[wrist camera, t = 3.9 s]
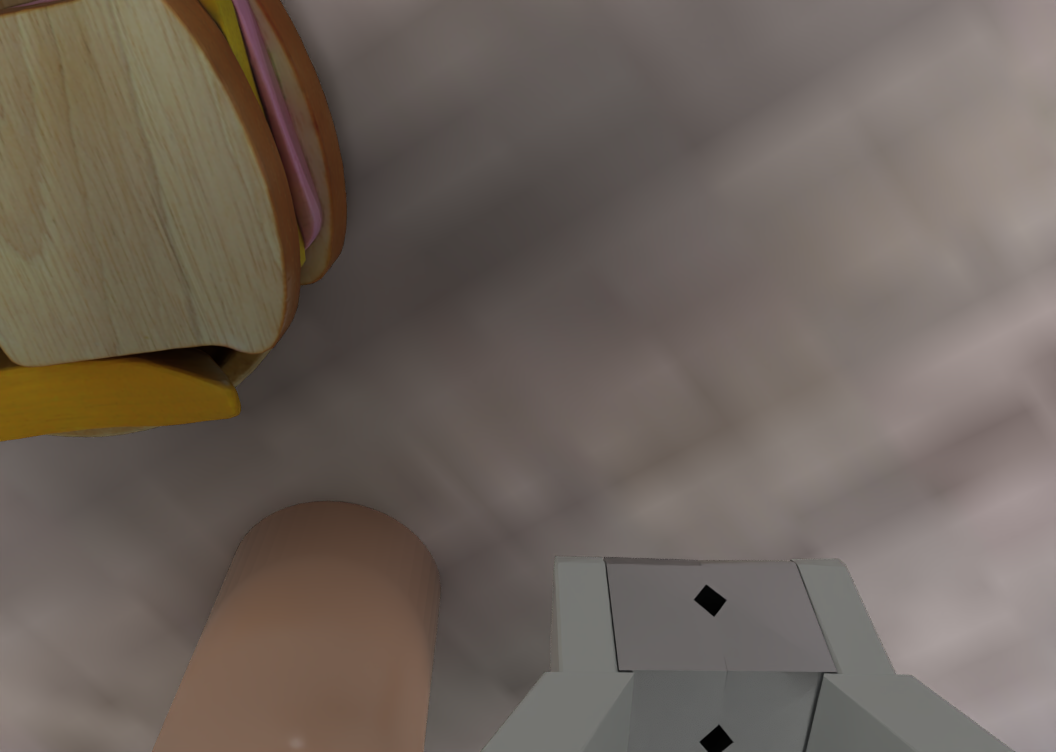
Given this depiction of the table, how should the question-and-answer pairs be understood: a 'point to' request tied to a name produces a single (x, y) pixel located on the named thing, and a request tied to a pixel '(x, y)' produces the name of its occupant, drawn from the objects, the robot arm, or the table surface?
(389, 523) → the peach rounded cylinder
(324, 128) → the toy sandwich meal
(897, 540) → the table surface
